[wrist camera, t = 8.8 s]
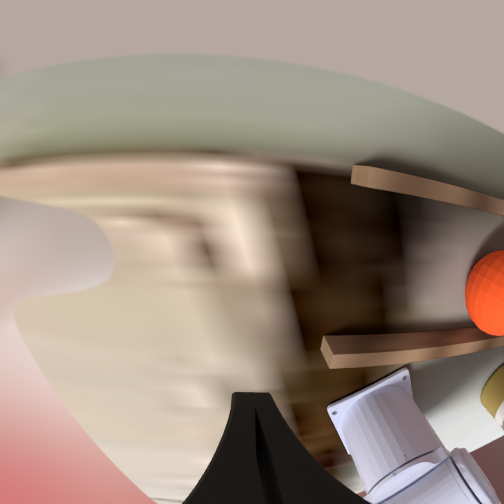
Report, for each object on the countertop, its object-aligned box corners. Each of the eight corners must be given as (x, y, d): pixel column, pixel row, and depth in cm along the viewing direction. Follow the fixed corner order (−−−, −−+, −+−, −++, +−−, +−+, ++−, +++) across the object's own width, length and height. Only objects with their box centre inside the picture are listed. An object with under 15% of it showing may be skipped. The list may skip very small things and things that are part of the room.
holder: (528, 209, 20) (546, 215, 18) (494, 333, 24) (507, 345, 22) (352, 164, 18) (369, 166, 16) (320, 349, 22) (329, 368, 20)
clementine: (458, 229, 20) (521, 256, 14) (506, 227, 21) (562, 249, 14) (442, 319, 23) (491, 362, 16) (491, 307, 23) (537, 340, 16)
